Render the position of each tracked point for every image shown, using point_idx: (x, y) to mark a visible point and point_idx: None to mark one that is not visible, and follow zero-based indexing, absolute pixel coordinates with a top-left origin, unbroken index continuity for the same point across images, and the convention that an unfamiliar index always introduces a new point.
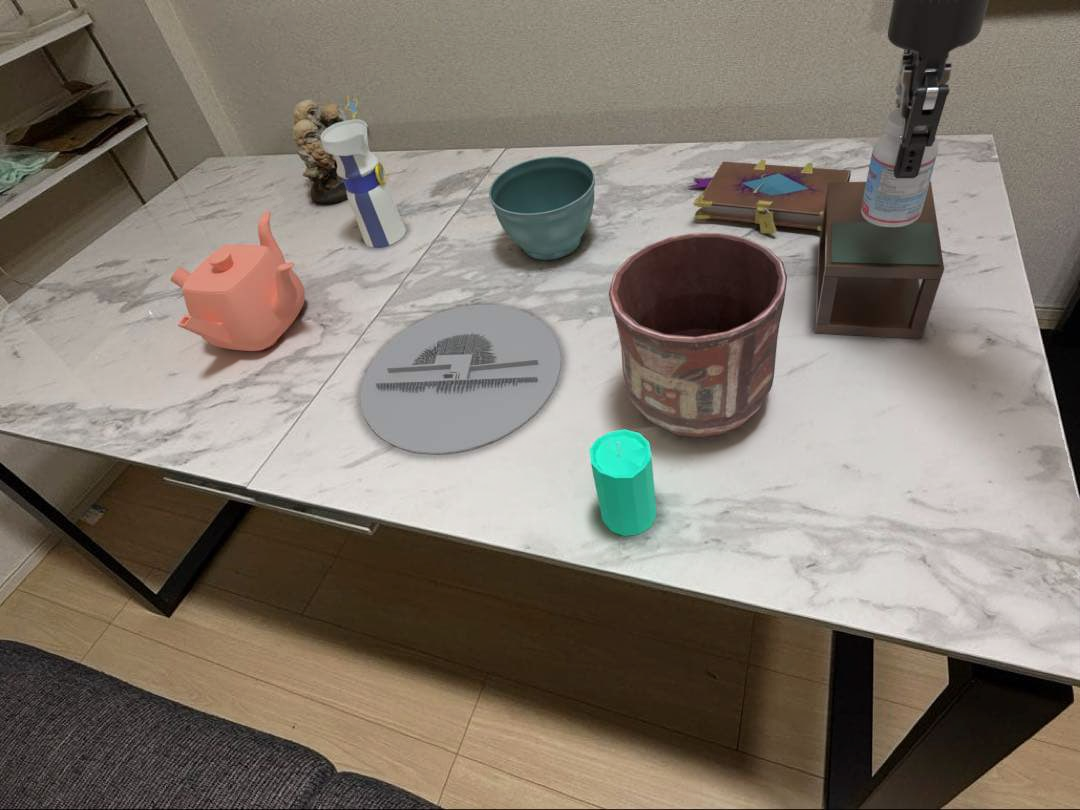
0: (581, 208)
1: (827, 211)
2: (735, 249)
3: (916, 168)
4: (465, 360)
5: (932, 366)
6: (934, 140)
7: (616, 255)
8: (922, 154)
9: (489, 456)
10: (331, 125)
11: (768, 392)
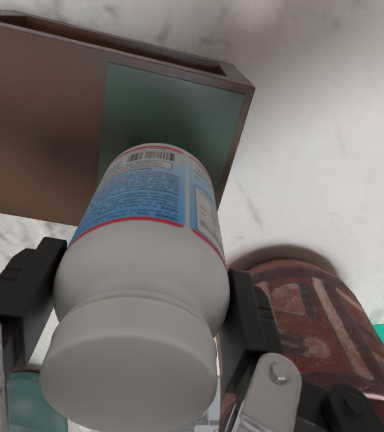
0: (31, 427)
1: (56, 222)
2: None
3: (269, 305)
4: (201, 427)
5: (286, 66)
6: (363, 404)
7: (49, 345)
8: (260, 321)
9: None
10: None
11: (330, 275)
